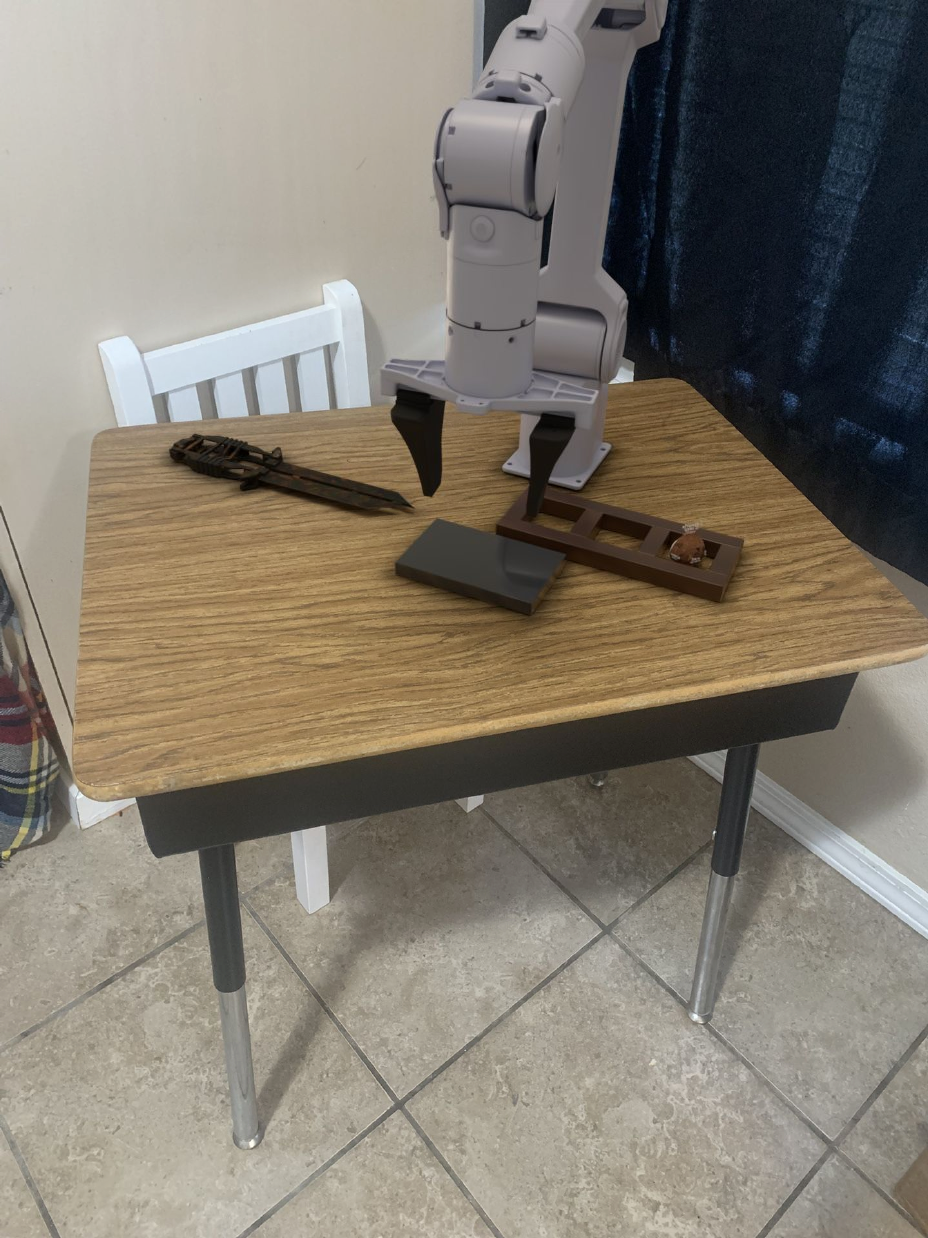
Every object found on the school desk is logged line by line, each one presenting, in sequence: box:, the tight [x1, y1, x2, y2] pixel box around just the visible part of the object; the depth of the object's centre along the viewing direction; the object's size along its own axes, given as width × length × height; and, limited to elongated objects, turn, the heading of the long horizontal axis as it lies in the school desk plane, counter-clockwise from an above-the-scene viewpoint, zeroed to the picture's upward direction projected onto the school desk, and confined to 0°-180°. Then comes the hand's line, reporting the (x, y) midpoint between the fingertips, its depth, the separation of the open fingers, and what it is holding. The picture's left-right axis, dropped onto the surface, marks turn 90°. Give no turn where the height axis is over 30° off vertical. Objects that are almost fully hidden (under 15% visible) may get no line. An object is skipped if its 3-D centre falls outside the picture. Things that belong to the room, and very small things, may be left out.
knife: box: [168, 433, 416, 510], centre depth 90 cm, size 25×6×1 cm, turn 60°
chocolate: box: [669, 520, 707, 567], centre depth 81 cm, size 3×2×4 cm
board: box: [394, 517, 567, 616], centre depth 80 cm, size 8×12×1 cm, turn 65°
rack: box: [495, 485, 745, 603], centre depth 83 cm, size 8×20×2 cm, turn 65°
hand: (482, 499), depth 70 cm, fingers open, 7 cm apart
